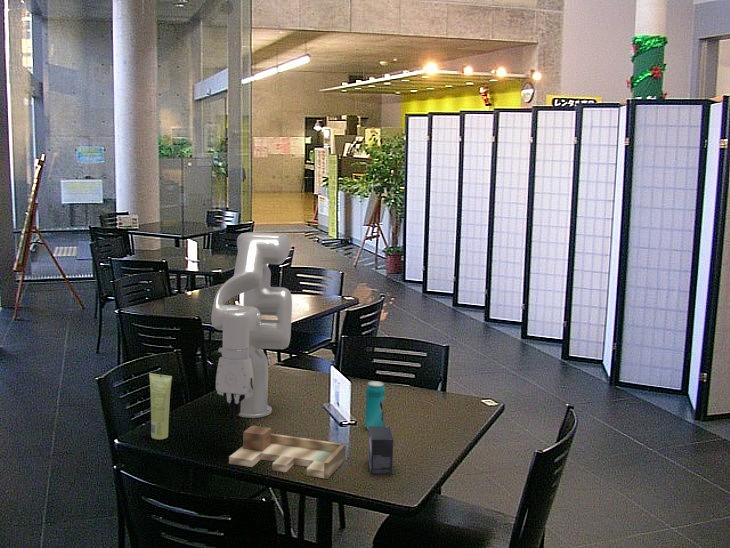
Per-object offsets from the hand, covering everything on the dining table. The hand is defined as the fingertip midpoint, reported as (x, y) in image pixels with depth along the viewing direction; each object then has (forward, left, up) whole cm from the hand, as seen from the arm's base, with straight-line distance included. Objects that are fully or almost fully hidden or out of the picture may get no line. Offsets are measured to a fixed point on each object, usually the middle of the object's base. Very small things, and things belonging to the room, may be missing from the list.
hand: (234, 415), depth 235 cm
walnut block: (+7, +1, -9) cm, 11 cm away
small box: (+43, +4, -11) cm, 44 cm away
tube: (-25, +2, -11) cm, 27 cm away
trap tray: (+17, -2, -11) cm, 20 cm away
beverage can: (+33, +34, -11) cm, 48 cm away
